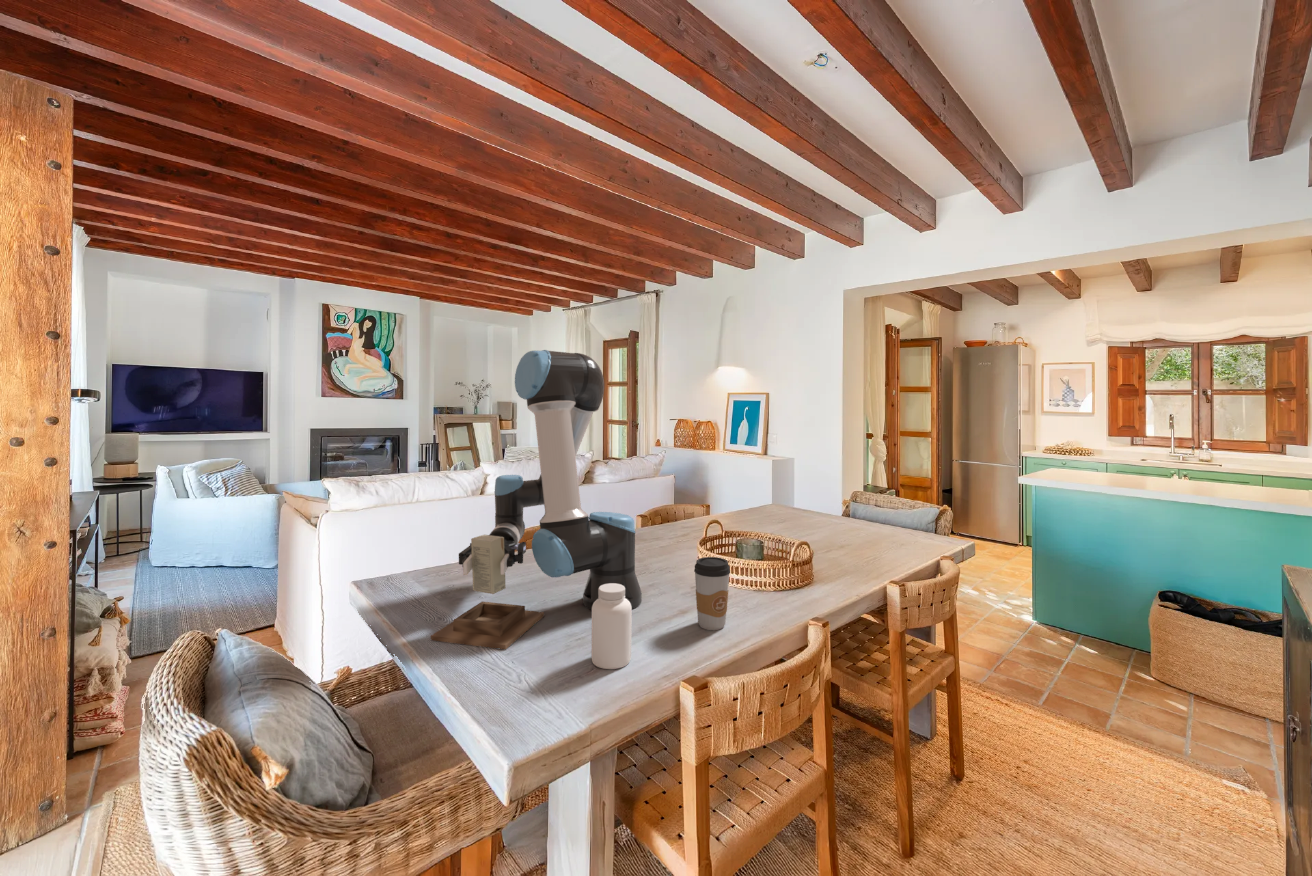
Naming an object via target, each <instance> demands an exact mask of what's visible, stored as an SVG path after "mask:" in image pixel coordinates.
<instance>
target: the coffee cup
mask: <svg viewBox="0 0 1312 876" xmlns="http://www.w3.org/2000/svg"><path fill="white" fill-rule="evenodd" d="M730 574H731V566H730V564H729V561H728V560H727V559H725V558H723V557H719V556H718V557H716V556H705V557H700V558H697V559H696V563H695V564H694V578H695V579H694V580H695V596H696V597H695V601H696V610H697V611H696V612H697V613H696V614H697V622H698V623H697V624H698V625H699V627H700V628H702V629H704V630H708V631H718V630H722V629H724V628H725V626H726V623H727V622H726V621H727V612H728V602H729V600H728V599H729V583H730Z"/></svg>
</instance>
